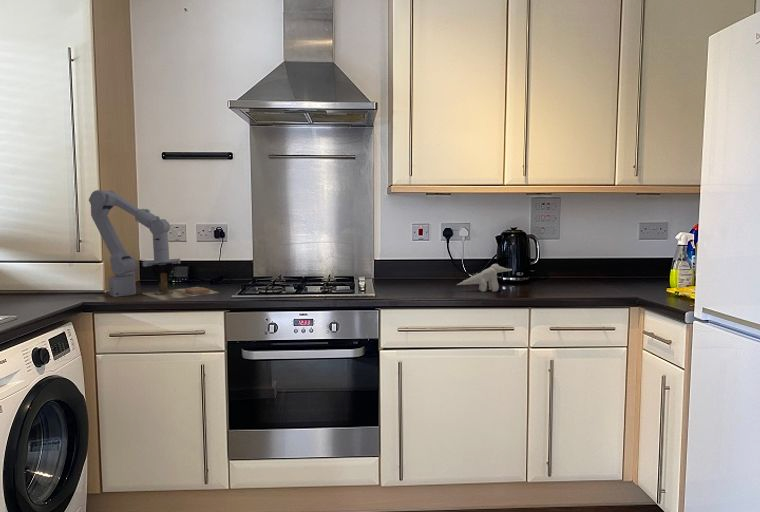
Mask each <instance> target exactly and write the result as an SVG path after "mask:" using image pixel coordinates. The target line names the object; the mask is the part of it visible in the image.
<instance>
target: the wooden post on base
mask: <svg viewBox="0 0 760 512" xmlns="http://www.w3.org/2000/svg"><path fill="white" fill-rule="evenodd" d="M160 276H161V283H158V290H156V291H153V292H154V294H155V295H158V296H159V295H167V294H173V291H170V290H171V289H169V287H168V282H167V273H164V272H160Z"/></svg>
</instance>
